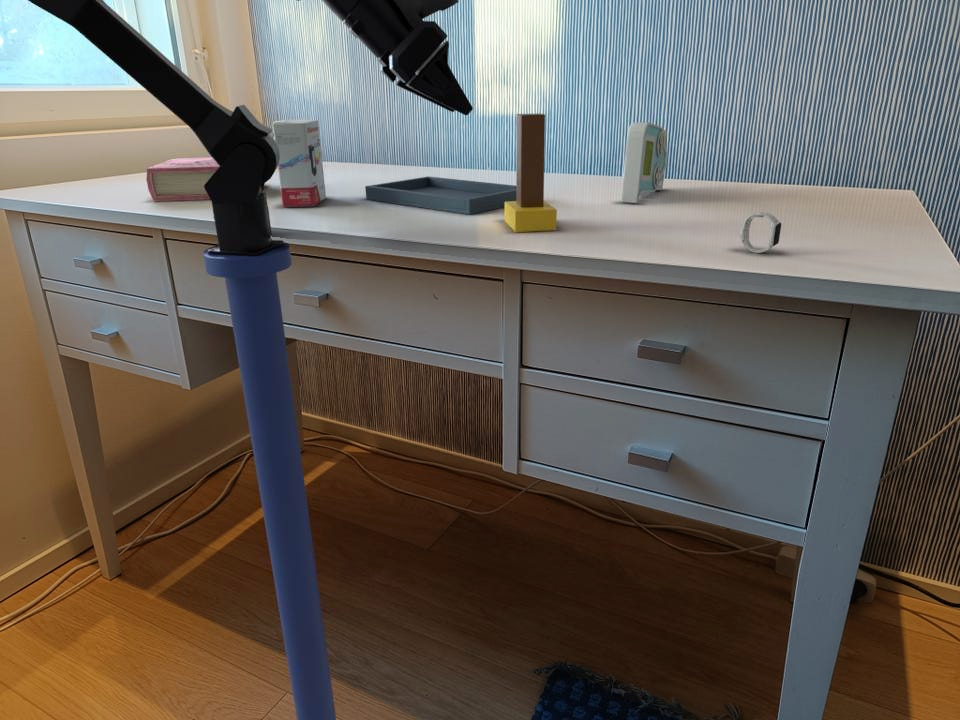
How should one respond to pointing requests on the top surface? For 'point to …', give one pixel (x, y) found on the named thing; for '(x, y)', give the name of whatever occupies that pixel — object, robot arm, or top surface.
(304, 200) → the ink box
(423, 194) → the tray
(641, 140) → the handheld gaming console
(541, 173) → the sponge brush
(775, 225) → the smartwatch
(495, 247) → the top surface
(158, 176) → the book
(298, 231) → the top surface
